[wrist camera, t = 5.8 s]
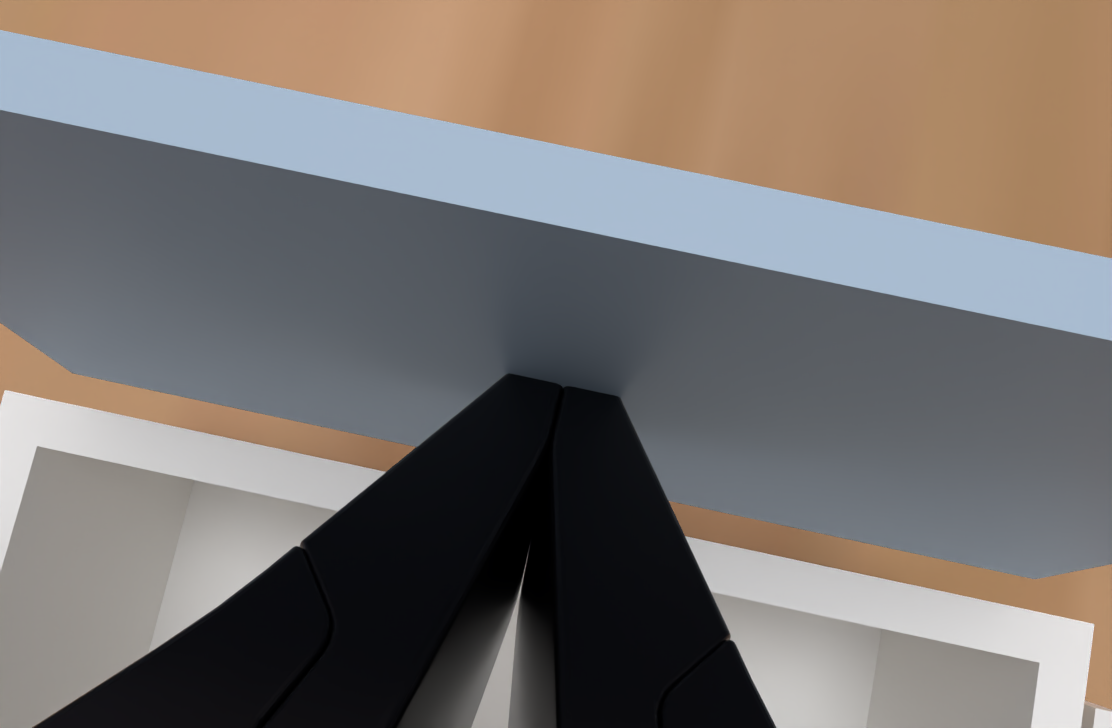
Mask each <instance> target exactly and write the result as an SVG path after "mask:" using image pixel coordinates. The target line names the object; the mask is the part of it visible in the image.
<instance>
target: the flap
mask: <svg viewBox="0 0 1112 728" xmlns="http://www.w3.org/2000/svg"><path fill="white" fill-rule="evenodd" d="M0 323H1V324H3V325H4V326H6V327H7V328H9V329H10V330H11V331H13V332H14V333H16V334H17V335H19V336H20V337H21V338H23V339H24V340H26V341H27V342H29V343H30V344H31V345H33V346H34V347H36V348H37V349H39V350H40V351H41V352H43V353H44V354H46V355H47V356H49V357H50V358H51V359H53V360H54V361H56V362H57V363H59V364H60V365H61V366H63V367H64V368H66V369H67V370H69V371H70V372H72V373H74V374H78V375H83V376H88V377H92V378H97V379H102V380H106V381H111V382H116V383H120V384H125V385H130V386H134V387H139V388H144V389H148V390H153V391H158V392H163V393H167V394H172V395H177V396H181V397H186V398H191V399H195V400H200V401H205V402H209V403H214V404H219V405H223V406H228V407H233V408H237V409H242V410H247V411H251V412H256V413H261V414H265V415H270V416H275V417H279V418H284V419H289V420H293V421H298V422H303V423H307V424H312V425H317V426H321V427H326V428H331V429H335V430H340V431H345V432H349V433H354V434H359V435H363V436H368V437H373V438H377V439H382V440H387V441H391V442H396V443H401V444H405V445H410V446H415V447H417V446H419V445H420V444H421V443H422V442H424V441H425V440H426V439H427V438H428V437H430V436H431V435H432V434H433V433H435V432H436V431H437V430H438V429H439V428H441V427H442V426H443V425H444V424H446V423H447V422H448V421H449V420H451V419H452V418H453V417H454V416H455V415H457V414H458V413H459V412H460V411H462V410H463V409H464V408H465V407H466V406H468V405H469V404H470V403H471V402H473V401H474V400H475V399H476V398H477V397H479V396H480V395H481V394H482V393H484V392H485V391H486V390H487V389H488V388H490V387H491V386H492V385H493V384H495V383H496V382H497V381H498V380H500V379H501V378H502V377H503V376H504V375H506V374H508V373H510V374H515V375H520V376H525V377H530V378H534V379H539V380H544V381H548V382H553V383H557V384H559V385H561V386H562V388H564V387H566V386H572V387H577V388H581V389H586V390H591V391H596V392H600V393H605V394H610V395H615V396H618V397H620V398H621V400H622V403H623V405H624V407H625V409H626V411H627V413H628V415H629V418H630V420H631V422H632V424H633V426H634V428H635V430H636V433H637V435H638V437H639V439H640V441H641V443H642V445H643V448H644V450H645V452H646V454H647V456H648V458H649V460H650V463H651V465H652V467H653V469H654V471H655V473H656V475H657V478H658V480H659V482H660V484H661V486H662V488H663V490H664V493H665V495H666V497H667V499H668V501H672V502H676V503H681V504H686V505H690V506H695V507H700V508H705V509H709V510H714V511H719V512H723V513H728V514H733V515H737V516H742V517H747V518H751V519H756V520H761V521H765V522H770V523H775V524H779V525H784V526H789V527H793V528H798V529H803V530H807V531H812V532H817V533H821V534H826V535H831V536H835V537H840V538H845V539H849V540H854V541H859V542H863V543H868V544H873V545H877V546H882V547H887V548H891V549H896V550H901V551H905V552H910V553H915V554H919V555H924V556H929V557H933V558H938V559H943V560H947V561H952V562H957V563H961V564H966V565H971V566H976V567H980V568H985V569H990V570H994V571H999V572H1004V573H1008V574H1013V575H1018V576H1022V577H1027V578H1032V579H1039V578H1044V577H1049V576H1054V575H1059V574H1064V573H1069V572H1074V571H1079V570H1084V569H1089V568H1094V567H1099V566H1104V565H1109V564H1112V259H1111V258H1106V257H1102V256H1097V255H1092V254H1087V253H1082V252H1077V251H1072V250H1068V249H1063V248H1058V247H1053V246H1048V245H1043V244H1038V243H1034V242H1029V241H1024V240H1019V239H1014V238H1009V237H1004V236H999V235H995V234H990V233H985V232H980V231H975V230H970V229H965V228H961V227H956V226H951V225H946V224H941V223H936V222H931V221H926V220H922V219H917V218H912V217H907V216H902V215H897V214H892V213H888V212H883V211H878V210H873V209H868V208H863V207H858V206H854V205H849V204H844V203H839V202H834V201H829V200H824V199H819V198H815V197H810V196H805V195H800V194H795V193H790V192H785V191H781V190H776V189H771V188H766V187H761V186H756V185H751V184H746V183H742V182H737V181H732V180H727V179H722V178H717V177H712V176H708V175H703V174H698V173H693V172H688V171H683V170H678V169H673V168H669V167H664V166H659V165H654V164H649V163H644V162H639V161H635V160H630V159H625V158H620V157H615V156H610V155H605V154H601V153H596V152H591V151H586V150H581V149H576V148H571V147H566V146H562V145H557V144H552V143H547V142H542V141H537V140H532V139H528V138H523V137H518V136H513V135H508V134H503V133H498V132H493V131H489V130H484V129H479V128H474V127H469V126H464V125H459V124H455V123H450V122H445V121H440V120H435V119H430V118H425V117H420V116H416V115H411V114H406V113H401V112H396V111H391V110H386V109H382V108H377V107H372V106H367V105H362V104H357V103H352V102H348V101H343V100H338V99H333V98H328V97H323V96H318V95H313V94H309V93H304V92H299V91H294V90H289V89H284V88H279V87H275V86H270V85H265V84H260V83H255V82H250V81H245V80H240V79H236V78H231V77H226V76H221V75H216V74H211V73H206V72H202V71H197V70H192V69H187V68H182V67H177V66H172V65H168V64H163V63H158V62H153V61H148V60H143V59H138V58H133V57H129V56H124V55H119V54H114V53H109V52H104V51H99V50H95V49H90V48H85V47H80V46H75V45H70V44H65V43H60V42H56V41H51V40H46V39H41V38H36V37H31V36H26V35H22V34H17V33H12V32H7V31H2V30H0ZM562 391H563V389H562Z"/></svg>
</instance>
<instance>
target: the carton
mask: <svg viewBox="0 0 1112 728" xmlns="http://www.w3.org/2000/svg"><path fill="white" fill-rule="evenodd" d="M384 473H386V472H384V471H379V470H375V469H370V468H365V467H361V466H356V465H351V464H347V463H342V462H337V461H333V460H328V459H323V458H319V457H314V456H309V455H305V454H300V453H295V452H291V451H286V450H282V449H277V448H272V447H268V446H263V445H258V444H254V443H249V442H244V441H240V440H235V439H230V438H226V437H221V436H216V435H212V434H207V433H202V432H198V431H193V430H188V429H184V428H179V427H174V426H170V425H165V424H161V423H156V422H151V421H147V420H142V419H137V418H133V417H128V416H123V415H119V414H114V413H109V412H105V411H100V410H95V409H91V408H86V407H81V406H77V405H72V404H67V403H63V402H58V401H53V400H49V399H44V398H39V397H35V396H30V395H26V394H21V393H16V392H12V391H7V390H5V392H4V395H3V399H2V402H1V405H0V728H32V727H33V726H35V725H37V724H38V723H40V722H41V721H43V720H44V719H46V718H48V717H49V716H51V715H52V714H54V713H55V712H57V711H58V710H60V709H62V708H63V707H65V706H66V705H68V704H69V703H71V702H73V701H74V700H76V699H77V698H79V697H80V696H82V695H84V694H85V693H87V692H88V691H90V690H91V689H93V688H94V687H96V686H98V685H99V684H101V683H102V682H104V681H105V680H107V679H109V678H110V677H112V676H113V675H115V674H116V673H118V672H119V671H121V670H123V669H124V668H126V667H127V666H129V665H130V664H132V663H134V662H135V661H137V660H138V659H140V658H141V657H143V656H145V655H146V654H148V653H149V652H151V651H152V650H154V649H155V648H157V647H159V646H160V645H161V644H163V643H164V642H166V641H167V640H169V639H170V638H172V637H173V636H175V635H176V634H178V633H179V632H181V631H182V630H184V629H185V628H187V627H188V626H190V625H191V624H193V623H194V622H196V621H197V620H198V619H200V618H201V617H203V616H204V615H206V614H207V613H209V612H210V611H212V610H213V609H215V608H216V607H218V606H219V605H220V604H222V603H223V602H224V601H226V600H227V599H228V598H229V597H231V596H232V595H233V594H235V593H236V592H237V591H239V590H240V589H241V588H243V587H244V586H245V585H246V584H248V583H249V582H250V581H252V580H253V579H254V578H256V577H257V576H258V575H260V574H261V573H262V572H263V571H265V570H266V569H267V568H268V567H270V566H271V565H272V564H273V563H275V562H276V561H277V560H278V559H279V558H281V557H282V556H283V555H284V554H285V553H287V552H288V551H289V550H290V549H292V548H293V547H295V546H299V547H300V543H301V541H302V540H303V539H305V538H306V537H307V536H308V535H310V534H311V533H312V532H313V531H314V530H316V529H317V528H318V527H319V526H321V525H322V524H323V523H324V522H325V521H327V520H328V519H329V518H330V517H332V516H333V515H334V514H335V513H337V512H338V511H339V510H340V509H341V508H343V507H344V506H345V505H346V504H348V503H349V502H350V501H351V500H352V499H354V498H355V497H356V496H357V495H359V494H360V493H361V492H362V491H363V490H365V489H366V488H367V487H368V486H370V485H371V484H372V483H373V482H375V481H376V480H377V479H378V478H379V477H381V476H382V475H383V474H384ZM685 537H686V536H685ZM686 540H687V542H688V544H689V546H690V548H691V550H692V552H693V555H694V557H695V559H696V561H697V563H698V565H699V567H700V570H701V572H702V574H703V576H704V578H705V580H706V582H707V585H708V587H709V589H710V591H711V593H712V595H713V597H714V600H715V602H716V604H717V606H718V608H719V610H720V612H721V615H722V617H723V619H724V621H725V623H726V625H727V627H728V630H729V632H730V635H731V638H730V640H732V641H734V642H735V644H736V646H737V648H738V650H739V652H740V654H741V657H742V659H743V661H744V663H745V665H746V668H747V670H748V672H749V674H750V676H751V678H752V680H753V682H754V684H755V686H756V688H757V690H758V692H759V694H760V696H761V698H762V700H763V702H764V704H765V706H766V708H767V710H768V712H769V714H770V716H771V718H772V720H773V722H774V724H775V726H776V728H1112V710H1111V709H1108V708H1105V707H1102V706H1100V705H1097V704H1094V703H1091V702H1088V701H1085V693H1086V685H1087V677H1088V670H1089V662H1090V654H1091V646H1092V639H1093V631H1094V624H1091V623H1087V622H1082V621H1077V620H1073V619H1068V618H1064V617H1059V616H1054V615H1050V614H1045V613H1040V612H1036V611H1031V610H1026V609H1022V608H1017V607H1012V606H1008V605H1003V604H998V603H994V602H989V601H984V600H980V599H975V598H970V597H966V596H961V595H956V594H952V593H947V592H943V591H938V590H933V589H929V588H924V587H919V586H915V585H910V584H905V583H901V582H896V581H891V580H887V579H882V578H877V577H873V576H868V575H863V574H859V573H854V572H849V571H845V570H840V569H835V568H831V567H826V566H821V565H817V564H812V563H808V562H803V561H798V560H794V559H789V558H784V557H780V556H775V555H770V554H766V553H761V552H756V551H752V550H747V549H742V548H738V547H733V546H728V545H724V544H719V543H714V542H710V541H705V540H700V539H696V538H691V537H686ZM527 557H528V556H527ZM526 562H527V561H526ZM525 567H526V565H525ZM524 572H525V570H524ZM523 577H524V574H523ZM522 583H523V579H522ZM522 583H521V587H520V590H519V594H518V598H517V602H516V605H515V608H514V611H513V614H512V617H511V620H510V623H509V626H508V628H507V631H506V634H505V637H504V639H503V642H502V645H501V648H500V650H499V653H498V656H497V659H496V661H495V664H494V667H493V669H492V672H491V675H490V678H489V680H488V683H487V686H486V689H485V691H484V694H483V697H482V700H481V702H480V705H479V708H478V711H477V713H476V716H475V719H474V722H473V724H472V727H471V728H508V721H509V709H510V697H511V685H512V673H513V661H514V648H515V636H516V624H517V616H518V607H519V599H520V594H521V588H522Z"/></svg>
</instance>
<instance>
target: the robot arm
mask: <svg viewBox="0 0 1112 728" xmlns="http://www.w3.org/2000/svg"><path fill="white" fill-rule="evenodd" d="M562 389H563V391H562ZM527 556H528V557H527ZM526 561H527V562H526ZM525 565H526V567H525ZM524 570H525V572H524ZM523 574H524V577H523ZM522 579H523V583H522ZM521 583H522V588H521V594H520V599H519V607H518V616H517V624H516V636H515V648H514V661H513V673H512V685H511V697H510V709H509V721H508V728H776V726H775V724H774V722H773V720H772V718H771V716H770V714H769V712H768V710H767V708H766V706H765V704H764V702H763V700H762V698H761V696H760V694H759V692H758V690H757V688H756V686H755V684H754V682H753V680H752V678H751V676H750V674H749V672H748V670H747V668H746V665H745V663H744V661H743V659H742V657H741V654H740V652H739V650H738V648H737V646H736V644H735V642H734V641H732V640H730V638H731V635H730V632H729V630H728V627H727V625H726V623H725V621H724V619H723V617H722V615H721V612H720V610H719V608H718V606H717V604H716V602H715V600H714V597H713V595H712V593H711V591H710V589H709V587H708V585H707V582H706V580H705V578H704V576H703V574H702V572H701V570H700V567H699V565H698V563H697V561H696V559H695V557H694V555H693V552H692V550H691V548H690V546H689V544H688V542H687V540H686V537H685V535H684V533H683V531H682V529H681V527H680V525H679V522H678V520H677V518H676V516H675V514H674V512H673V510H672V507H671V505H670V503H669V501H668V499H667V497H666V495H665V493H664V490H663V488H662V486H661V484H660V482H659V480H658V478H657V475H656V473H655V471H654V469H653V467H652V465H651V463H650V460H649V458H648V456H647V454H646V452H645V450H644V448H643V445H642V443H641V441H640V439H639V437H638V435H637V433H636V430H635V428H634V426H633V424H632V422H631V420H630V418H629V415H628V413H627V411H626V409H625V407H624V405H623V403H622V400H621V398H620V397H618V396H615V395H610V394H605V393H600V392H596V391H591V390H586V389H581V388H577V387H572V386H566V387H564V388H562V386H561V385H559V384H557V383H553V382H548V381H544V380H539V379H534V378H530V377H525V376H520V375H515V374H510V373H508V374H506V375H504V376H503V377H502V378H501V379H500V380H498V381H497V382H496V383H495V384H493V385H492V386H491V387H490V388H488V389H487V390H486V391H485V392H484V393H482V394H481V395H480V396H479V397H477V398H476V399H475V400H474V401H473V402H471V403H470V404H469V405H468V406H466V407H465V408H464V409H463V410H462V411H460V412H459V413H458V414H457V415H455V416H454V417H453V418H452V419H451V420H449V421H448V422H447V423H446V424H444V425H443V426H442V427H441V428H439V429H438V430H437V431H436V432H435V433H433V434H432V435H431V436H430V437H428V438H427V439H426V440H425V441H424V442H422V443H421V444H420V445H419V446H417V447H416V448H415V449H414V450H413V451H411V452H410V453H409V454H408V455H406V456H405V457H404V458H403V459H401V460H400V461H399V462H398V463H397V464H395V465H394V466H393V467H392V468H390V469H389V470H388V471H387V472H386V473H384V474H383V475H382V476H381V477H379V478H378V479H377V480H376V481H375V482H373V483H372V484H371V485H370V486H368V487H367V488H366V489H365V490H363V491H362V492H361V493H360V494H359V495H357V496H356V497H355V498H354V499H352V500H351V501H350V502H349V503H348V504H346V505H345V506H344V507H343V508H341V509H340V510H339V511H338V512H337V513H335V514H334V515H333V516H332V517H330V518H329V519H328V520H327V521H325V522H324V523H323V524H322V525H321V526H319V527H318V528H317V529H316V530H314V531H313V532H312V533H311V534H310V535H308V536H307V537H306V538H305V539H303V540H302V541H301V543H300V547H299V546H295V547H293V548H292V549H290V550H289V551H288V552H287V553H285V554H284V555H283V556H282V557H281V558H279V559H278V560H277V561H276V562H275V563H273V564H272V565H271V566H270V567H268V568H267V569H266V570H265V571H263V572H262V573H261V574H260V575H258V576H257V577H256V578H254V579H253V580H252V581H250V582H249V583H248V584H246V585H245V586H244V587H243V588H241V589H240V590H239V591H237V592H236V593H235V594H233V595H232V596H231V597H229V598H228V599H227V600H226V601H224V602H223V603H222V604H220V605H219V606H218V607H216V608H215V609H213V610H212V611H210V612H209V613H207V614H206V615H204V616H203V617H201V618H200V619H198V620H197V621H196V622H194V623H193V624H191V625H190V626H188V627H187V628H185V629H184V630H182V631H181V632H179V633H178V634H176V635H175V636H173V637H172V638H170V639H169V640H167V641H166V642H164V643H163V644H161V645H160V646H159V647H157V648H155V649H154V650H152V651H151V652H149V653H148V654H146V655H145V656H143V657H141V658H140V659H138V660H137V661H135V662H134V663H132V664H130V665H129V666H127V667H126V668H124V669H123V670H121V671H119V672H118V673H116V674H115V675H113V676H112V677H110V678H109V679H107V680H105V681H104V682H102V683H101V684H99V685H98V686H96V687H94V688H93V689H91V690H90V691H88V692H87V693H85V694H84V695H82V696H80V697H79V698H77V699H76V700H74V701H73V702H71V703H69V704H68V705H66V706H65V707H63V708H62V709H60V710H58V711H57V712H55V713H54V714H52V715H51V716H49V717H48V718H46V719H44V720H43V721H41V722H40V723H38V724H37V725H35V726H33V727H32V728H471V727H472V724H473V722H474V719H475V716H476V713H477V711H478V708H479V705H480V702H481V700H482V697H483V694H484V691H485V689H486V686H487V683H488V680H489V678H490V675H491V672H492V669H493V667H494V664H495V661H496V659H497V656H498V653H499V650H500V648H501V645H502V642H503V639H504V637H505V634H506V631H507V628H508V626H509V623H510V620H511V617H512V614H513V611H514V608H515V605H516V602H517V598H518V594H519V590H520V587H521Z"/></svg>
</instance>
